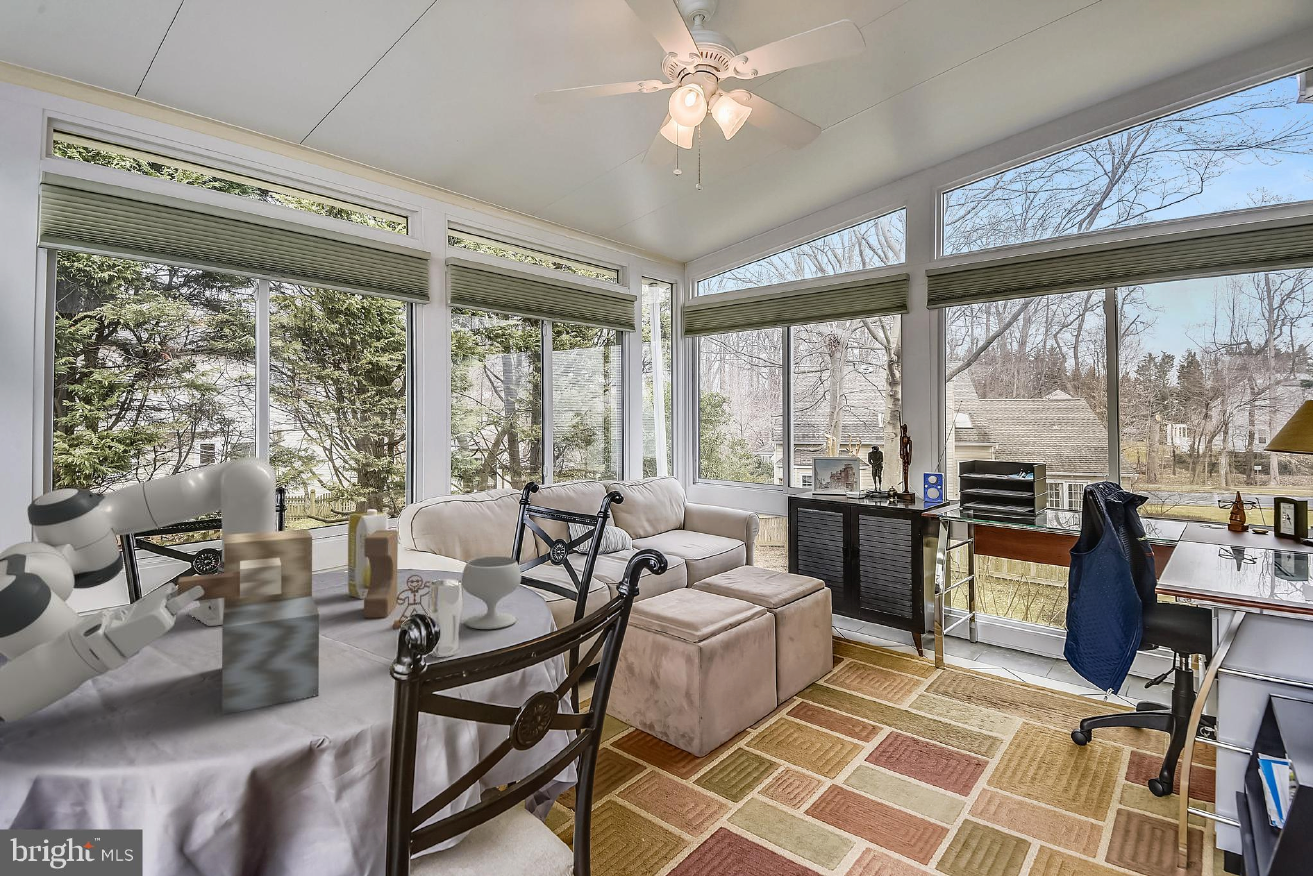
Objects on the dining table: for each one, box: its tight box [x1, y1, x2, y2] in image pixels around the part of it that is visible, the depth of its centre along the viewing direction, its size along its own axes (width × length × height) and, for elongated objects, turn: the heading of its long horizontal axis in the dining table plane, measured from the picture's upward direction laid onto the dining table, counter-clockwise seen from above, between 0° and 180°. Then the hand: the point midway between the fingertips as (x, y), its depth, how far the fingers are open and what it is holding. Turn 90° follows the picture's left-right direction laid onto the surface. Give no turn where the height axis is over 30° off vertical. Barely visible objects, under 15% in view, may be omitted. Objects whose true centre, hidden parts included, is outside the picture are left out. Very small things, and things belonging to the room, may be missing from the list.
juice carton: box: [347, 508, 389, 600], centre depth 173 cm, size 9×8×24 cm
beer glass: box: [427, 577, 464, 658], centre depth 131 cm, size 7×7×15 cm
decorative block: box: [363, 529, 399, 619], centre depth 158 cm, size 11×6×20 cm, turn 9°
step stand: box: [221, 529, 320, 716], centre depth 115 cm, size 14×24×26 cm, turn 34°
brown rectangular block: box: [177, 558, 281, 602], centre depth 108 cm, size 14×7×5 cm, turn 124°
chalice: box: [461, 556, 522, 630], centre depth 151 cm, size 14×14×15 cm
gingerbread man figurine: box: [393, 574, 431, 630], centre depth 149 cm, size 9×4×12 cm, turn 115°
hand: (203, 585), depth 105 cm, fingers closed on brown rectangular block, 3 cm apart
